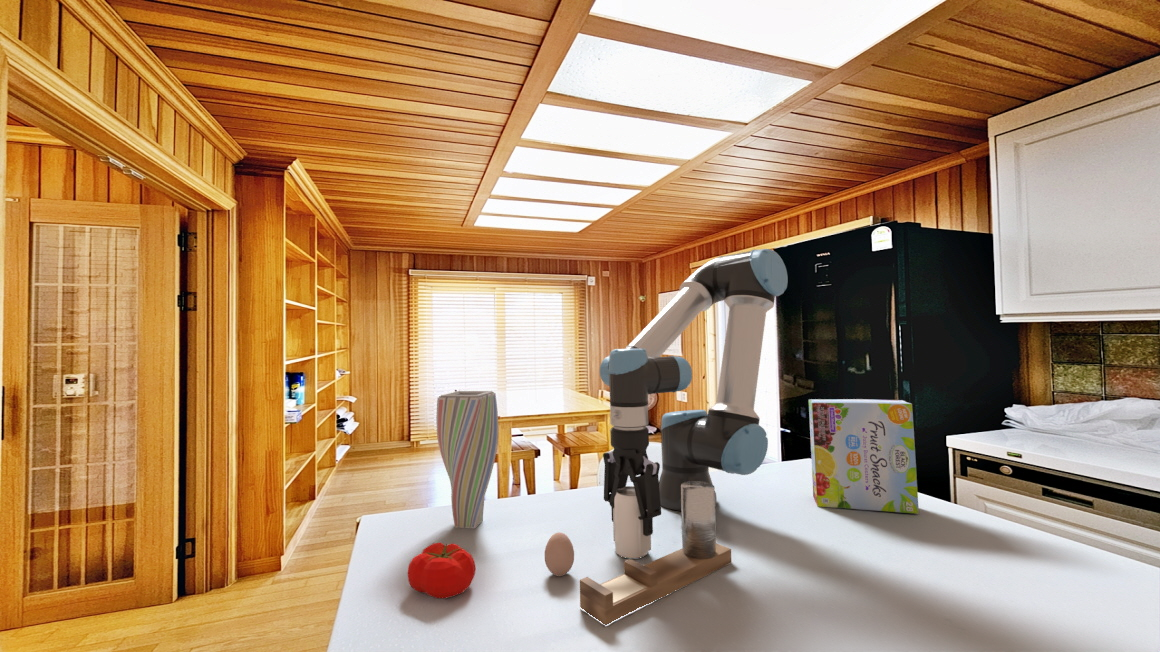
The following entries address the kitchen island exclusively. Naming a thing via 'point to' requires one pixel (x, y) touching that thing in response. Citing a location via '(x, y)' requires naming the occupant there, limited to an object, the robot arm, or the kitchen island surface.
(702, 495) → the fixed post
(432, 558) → the tomato
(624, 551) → the can
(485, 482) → the vase
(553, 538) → the egg
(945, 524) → the kitchen island surface
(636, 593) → the rail
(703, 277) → the robot arm
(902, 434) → the snack box
